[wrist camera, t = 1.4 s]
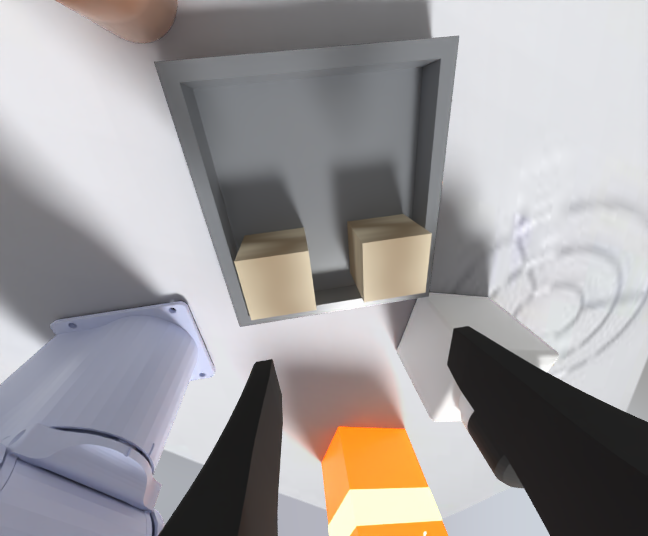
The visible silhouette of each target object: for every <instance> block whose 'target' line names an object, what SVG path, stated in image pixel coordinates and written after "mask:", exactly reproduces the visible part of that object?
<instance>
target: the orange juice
mask: <svg viewBox="0 0 648 536" xmlns="http://www.w3.org/2000/svg"><path fill="white" fill-rule="evenodd" d="M322 471H323V480H324V489H325V498H326V507H327V516H328V530H329V536H448V534H447V531H446V529H445V527H444V524H443V522H442V518H441V515H440V513H439V510H438V508H437V505H436V503H435V500H434V498H433V495H432V493H431V490H430V488H429V487H428V485H427V482H426V480H425V477H424V475H423V472H422V470H421V467H420V465H419V462H418V460H417V457H416V455H415V452H414V450H413V448H412V445H411V443H410V440H409V438H408V435H407V433H406V430H405V429H394V428H364V427H338V429H337V431H336V433H335V435H334V437H333V439H332V442H331V444H330V446H329V448H328V450H327V452H326V455H325V457H324V459H323V461H322Z"/></svg>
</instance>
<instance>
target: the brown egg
mask: <svg viewBox="0 0 648 536" xmlns="http://www.w3.org/2000/svg"><path fill="white" fill-rule="evenodd" d="M56 1H57V2H59V3H61V4H63V5H64V6H66V7H68V8H70V9H71V10H73V11H75V12H76V13H78V14H80V15H82V16H83V17H85V18H87V19H89V20H90V21H92V22H94V23H95V24H97V25H99V26H101V27H102V28H104V29H106V30H108V31H109V32H111V33H113V34H114V35H116V36H118V37H120V38H122V39H124V40H127V41H130V42H134V43H150V42H153V41H156V40H158V39H160V38H162V37H163V36H164V35H165V34H166V33H167V32H168V31H169V29H170V28H171V26H172V24H173V22H174V19H175V16H176V12H177V4H178V0H56Z"/></svg>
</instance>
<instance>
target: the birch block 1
mask: <svg viewBox="0 0 648 536" xmlns="http://www.w3.org/2000/svg"><path fill="white" fill-rule="evenodd" d="M234 263H235V266H236V270H237V273H238V277H239V280H240V283H241V287H242V290H243V294H244V297H245V300H246V304H247V307H248V311H249V314H250V318H251V320H256V319H263V318H269V317H275V316H281V315H288V314H294V313H300V312H307V311H313V310H317V309H316V302H315V294H314V287H313V280H312V272H311V265H310V258H309V251H308V245H307V240H306V235H305V230H304V227H303V228H296V229H289V230H281V231H274V232H267V233H259V234H252V235H245V236H244V238H243V241H242V243H241V246H240V248H239V251H238V253H237V256H236V258H235V261H234Z"/></svg>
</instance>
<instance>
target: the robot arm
mask: <svg viewBox="0 0 648 536" xmlns="http://www.w3.org/2000/svg"><path fill="white" fill-rule="evenodd" d="M171 308H175V309H176V310H172V309H171ZM73 323H74V324H73ZM75 324H76V325H75ZM50 327H51V329H52V331H53V332H54V333H55V334H56V336H55V337H54V338H52V339H51V340H50V341H49V342H48V343H47V344H46V345H44V346H43V347H42V348H41V349H40V350H39V351H38V352H37V353H35V354H34V355H33V356H32V357H31V358H30V359H29V360H27V361H26V362H25V363H24V364H23V365H22V366H21V367H20V368H18V369H17V370H16V371H15V372H14V373H13V374H12V375H10V376H9V377H8V378H7V379H6V380H5V381H4V382H3V383H1V384H0V536H278V533H277V532H278V530H277V529H278V528H277V507H278V487H279V472H280V457H281V442H282V426H283V417H282V394H281V390H280V386H279V382H278V379H277V375H276V371H275V367H274V364H273V360H272V359H271V360H266V361H260V362H256V363H255V364H254V366H253V368H252V371H251V374H250V376H249V378H248V381H247V383H246V385H245V388H244V390H243V392H242V394H241V397H240V399H239V401H238V403H237V405H236V407H235V409H234V411H233V413H232V415H231V417H230V419H229V421H228V423H227V425H226V427H225V429H224V431H223V432H222V434H221V436H220V438H219V440H218V442H217V443H216V445H215V447H214V449H213V451H212V452H211V454H210V456H209V458H208V459H207V461H206V463H205V464H204V466H203V468H202V469H201V471H200V473H199V474H198V476H197V478H196V479H195V481H194V482H193V484H192V486H191V487H190V489H189V490H188V492H187V493H186V495H185V497H184V498H183V499H182V501H181V502H180V504H179V506H178V507H177V509H176V510H175V511H174V513H173V514H172V516H171V518H170V519H169V520H168V522H167V523H166V525H164V521H163V518H162V516H161V514H160V512H159V511H157V510H156V509H155V508H154V506H155V503H156V500H157V497H158V494H159V491H160V489H161V484H160V483H159V482H157V481H156V480H155V479H154V478H153V474H154V472H155V469H156V467H157V464H158V462H159V459H160V456H161V454H162V451H163V449H164V446H165V443H166V441H167V438H168V436H169V433H170V430H171V428H172V425H173V423H174V420H175V418H176V415H177V412H178V410H179V407H180V405H181V402H182V399H183V397H184V394H185V392H186V389H187V386H188V384H189V381H192V380H197V379H203V378H209V377H212V376H214V374H215V368H214V366H213V364H212V361H211V359H210V357H209V354H208V352H207V350H206V347H205V345H204V343H203V340H202V338H201V336H200V333H199V331H198V329H197V326H196V324H195V322H194V319H193V317H192V314H191V312H190V310H189V307H188V305H187V304H186V303H185V302H182V301H178V302H171V303H164V304H158V305H151V306H144V307H138V308H131V309H125V310H118V311H111V312H105V313H98V314H92V315H85V316H78V317H72V318H65V319H59V320H55V321H54V322H53V323H52V324H51V325H50ZM447 366H448V368H449V370H450V372H451V374H452V376H453V378H454V379H455V381H456V383H457V385H458V387H459V389H460V390H461V392H462V393H463V395H464V396H465V398H466V399H467V401H468V402H469V404H470V405H471V407H472V408H473V410H474V411H475V412H476V414H477V415H478V417H479V418H480V420H481V421H482V423H483V424H484V425H485V427H486V428H487V430H488V431H489V433H490V434H491V436H492V437H493V439H494V440H495V441H496V443H497V444H498V446H499V447H500V449H501V450H502V452H503V453H504V455H505V456H506V458H507V460H508V461H509V463H510V464H511V466H512V468H513V470H514V471H515V473H516V475H517V477H518V478H519V480H520V482H521V484H522V485H523V487H524V489H525V490H526V492H527V494H528V496H529V498H530V499H531V501H532V503H533V505H534V507H535V508H536V510H537V512H538V514H539V516H540V517H541V519H542V521H543V523H544V525H545V527H546V528H547V530H548V532H549V534H550V536H648V422H646V421H644V420H642V419H639V418H637V417H635V416H633V415H630V414H628V413H626V412H624V411H622V410H620V409H617V408H615V407H613V406H611V405H609V404H607V403H605V402H603V401H601V400H599V399H597V398H595V397H593V396H591V395H588V394H586V393H584V392H582V391H581V390H579V389H577V388H575V387H573V386H571V385H569V384H567V383H565V382H563V381H562V380H560V379H558V378H556V377H554V376H552V375H551V374H549V373H547V372H545V371H543V370H542V369H540V368H538V367H536V366H535V365H533V364H531V363H529V362H528V361H526V360H524V359H523V358H521V357H519V356H518V355H516V354H514V353H513V352H511V351H509V350H508V349H506V348H504V347H503V346H501V345H499V344H498V343H496V342H494V341H493V340H491V339H489V338H488V337H486V336H485V335H483V334H481V333H480V332H478V331H476V330H474V329H473V328H471V327H469V326H465V327H459V328H454V329H453V334H452V340H451V345H450V350H449V356H448V361H447Z"/></svg>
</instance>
